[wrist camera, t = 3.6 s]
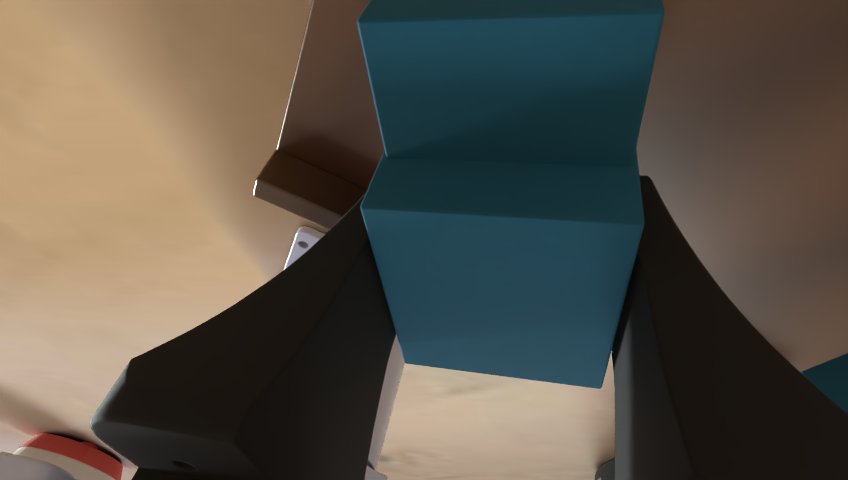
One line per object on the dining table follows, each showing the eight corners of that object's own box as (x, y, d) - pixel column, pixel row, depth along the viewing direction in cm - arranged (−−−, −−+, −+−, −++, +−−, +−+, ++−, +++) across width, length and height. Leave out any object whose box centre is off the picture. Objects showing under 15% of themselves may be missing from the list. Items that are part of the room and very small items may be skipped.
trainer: (602, 241, 14) (606, 393, 11) (437, 230, 15) (400, 365, 12) (664, -97, 8) (708, 27, 5) (392, -76, 9) (302, 37, 6)
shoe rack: (1124, 90, 13) (1323, 241, 10) (743, 304, 22) (773, 425, 19) (447, -354, 10) (372, -374, 7) (315, 98, 19) (252, 196, 16)
